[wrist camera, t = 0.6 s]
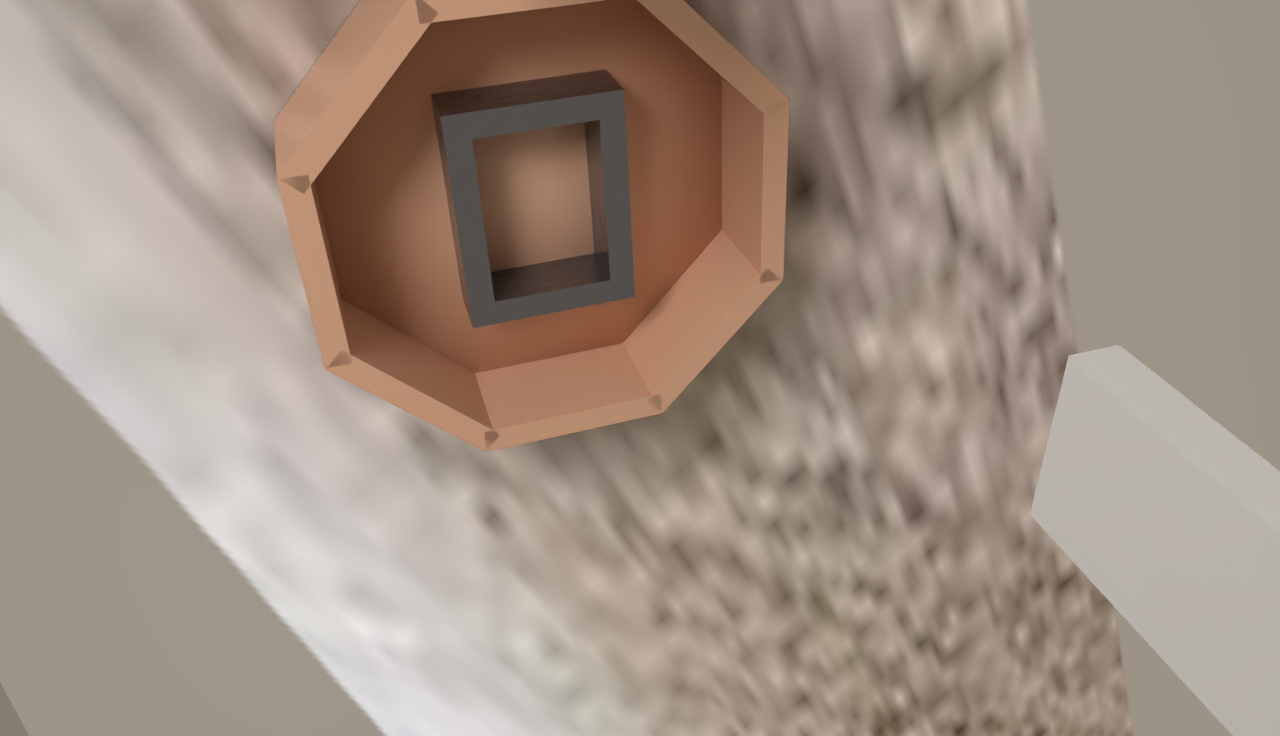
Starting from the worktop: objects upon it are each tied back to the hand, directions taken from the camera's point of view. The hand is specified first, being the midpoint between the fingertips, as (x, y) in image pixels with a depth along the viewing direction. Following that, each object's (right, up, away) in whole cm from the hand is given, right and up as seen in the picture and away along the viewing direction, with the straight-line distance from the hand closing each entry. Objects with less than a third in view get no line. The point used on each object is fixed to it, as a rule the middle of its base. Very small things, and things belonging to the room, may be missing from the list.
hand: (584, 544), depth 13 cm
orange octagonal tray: (-3, +8, +22) cm, 24 cm away
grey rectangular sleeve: (-3, +8, +22) cm, 24 cm away
